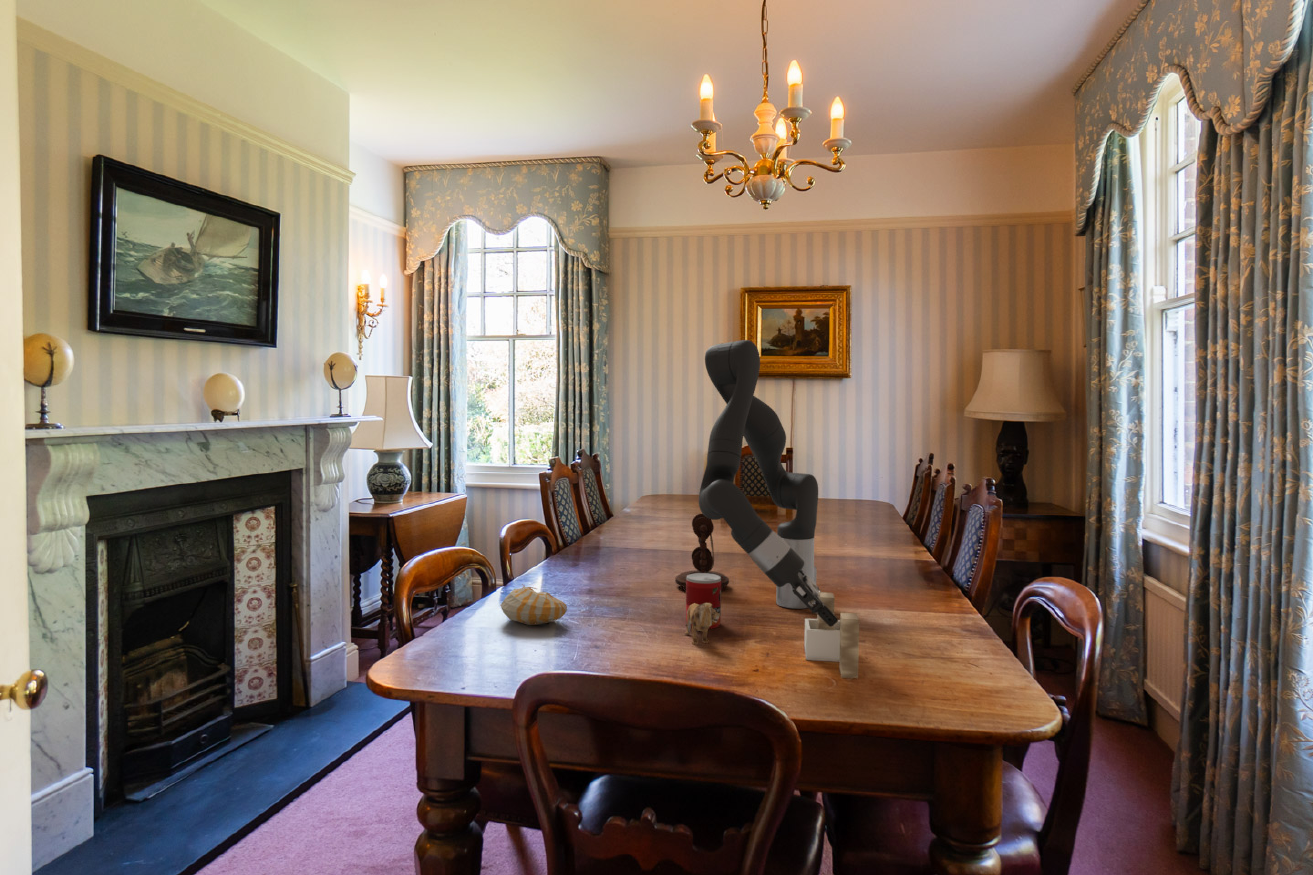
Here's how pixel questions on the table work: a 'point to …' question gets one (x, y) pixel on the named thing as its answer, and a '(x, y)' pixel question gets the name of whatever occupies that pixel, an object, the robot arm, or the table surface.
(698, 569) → the brown double wheel stand
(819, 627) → the tall square pillar
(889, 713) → the table surface
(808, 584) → the robot arm
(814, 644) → the open square box
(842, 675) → the beige rectangular block
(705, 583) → the canned food
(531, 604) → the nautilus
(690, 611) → the lion figurine
